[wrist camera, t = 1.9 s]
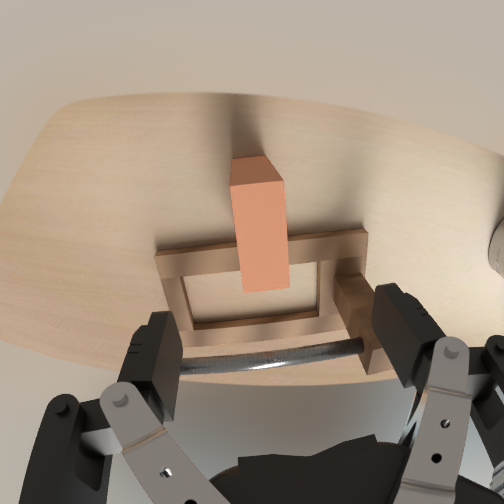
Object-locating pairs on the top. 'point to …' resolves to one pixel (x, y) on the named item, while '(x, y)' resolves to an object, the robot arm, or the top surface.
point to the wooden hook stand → (290, 325)
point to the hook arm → (272, 358)
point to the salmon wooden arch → (260, 224)
